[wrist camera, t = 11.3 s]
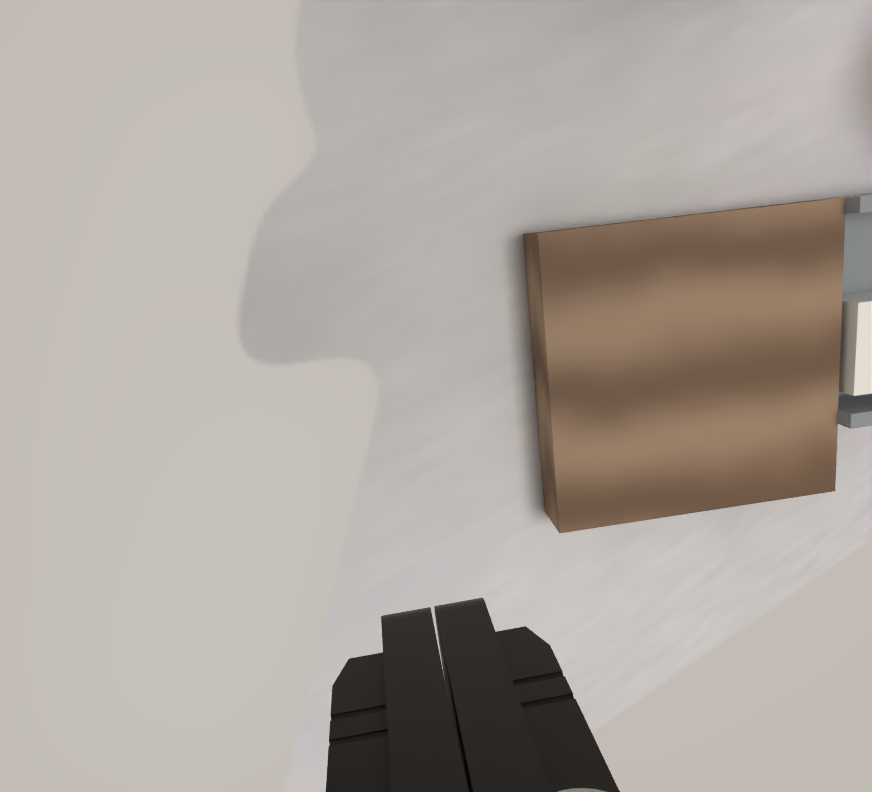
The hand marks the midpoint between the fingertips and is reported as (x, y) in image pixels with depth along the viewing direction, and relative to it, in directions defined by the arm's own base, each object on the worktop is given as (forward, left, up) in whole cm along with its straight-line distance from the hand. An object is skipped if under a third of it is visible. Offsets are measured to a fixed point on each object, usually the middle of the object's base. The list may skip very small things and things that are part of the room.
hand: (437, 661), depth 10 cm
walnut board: (+2, +16, -27) cm, 31 cm away
